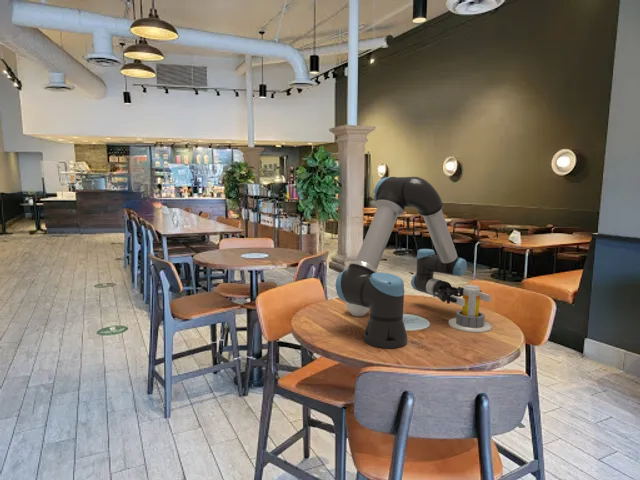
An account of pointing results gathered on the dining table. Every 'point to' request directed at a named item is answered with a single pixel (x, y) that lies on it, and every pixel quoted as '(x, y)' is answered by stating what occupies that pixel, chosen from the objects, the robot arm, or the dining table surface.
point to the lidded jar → (357, 309)
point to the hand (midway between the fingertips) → (477, 300)
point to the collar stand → (470, 323)
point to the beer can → (471, 300)
